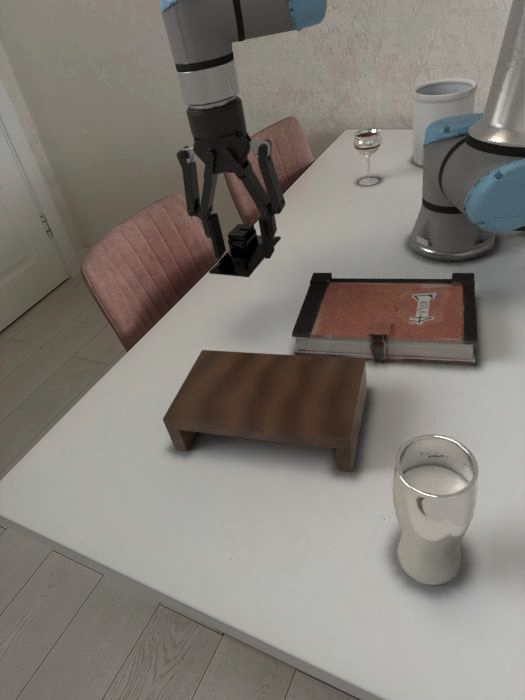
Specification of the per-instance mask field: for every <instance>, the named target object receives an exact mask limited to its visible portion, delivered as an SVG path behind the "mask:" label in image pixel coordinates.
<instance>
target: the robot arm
mask: <svg viewBox="0 0 525 700" xmlns="http://www.w3.org/2000/svg"><path fill="white" fill-rule="evenodd" d="M159 5H160V12H161V15H162V20H163V23H164V27H165V31H166V36H167V39H168V43H169V46H170V51H171V55H172V59H173V63H174V65H175V70H176V74H177V79H178V83H179V88H180V92H181V96H182V97H181V98H182V100H183V104H184V105H187V108H186V111H185V112H186V116H187V120H188V124H189V129H190V133H191V135H192V138H193V145H191V146H188V145H184V146H183V147H182V148H181V149H180V150H179V151H177V153H176V159H177V161H178V163H179V165H180V167H181V171H182V172H181V173H182V180H183V187H184V196H185V203H186V204H185V205H186V212H187V215H188V216H189V217H191V218H192V217H196V218H199V220H201V223H202V227H203V231H204V235H205V236H206V238H207V239H210V240H211V245H212V247H213V252H214V256H215V259H217V260H220V259H221V258H222V257H223V256H224V255H225V253H226V251H227V248H226V244H225V239H224V236H223V232H222V227H221V223H220V219H219V215H218V213H217V212H216V213H215V212H214V208H213V207H214V201H215V194H216V188H217V183H218V176H219V175H220V174H223V173H229V174H234V175H235V177H236V178H237V179H238V180H240V181H241V184H243V186H244V188H245V189H246V192H247V193H248V194H249V196H250V198H251V199H252V201H253V203H254V204H255V206H256V208H257V209H258V211H259V213H260V214H261V215H260V216H259V218H258V219H257V221H258V226H259V231H260V235H261V237H262V243H263V248H264V254H265V258H264V260H265V259H268V260H269V259H271V257H272V256H273V254H274V252H275V246H274V243H273V237H274V236H276V233H277V232H278V231H277V230H278V227H277V221H276V220H277V219H276V215H280V214H281V213H282V211H283V210H284V208H285V206H286V199H285V196H284V193H283V190H282V186H281V183H280V181H279V177H278V173H277V170H276V167H275V163H274V161H273V157H272V147H273V145H272V144H273V143H272V141H271V139H268V138H266V139H264V140H263V141H259V140H253V139H252V138H251V136H250V135H249V133H248V131H247V122H246V117H245V112H244V105H243V100H242V98H240V96H238V94H239V93H240V89H241V88H240V83H239V78H238V73H237V67H236V66H237V65H236V62H235V55H234V51H233V43H238V42H239V43H241V42H245V41H246V40H250V39H251V40H252V39H255V38H256V39H257V38H261V37H267V36H271V35H273V36H274V35H278V34H282V33H288V32H293V31H296V32H301V31H302V30H303V29H306V28H309V27H313V26H317V25H319V24H322V22H323V21H324V19H325V18H326V13H327V7H328V6H327V5H328V0H159ZM507 17H508V18H507V22H506V26H505V30H504V33H503V37H502V40H501V45H500V49H499V53H498V57H497V60H496V64H495V68H494V72H493V76H492V80H491V84H490V88H489V90H488V91H489V92H488V95H487V100H486V103H485V108H484V112H476V113H474V112H473V114H464V115H457V116H452V117H447V118H443V119H440V120H437V121H434V122H432V123H431V124H430V125H428V127H427V128H426V130H425V137H424V143H423V147H424V152H423V166H422V186H421V190H422V191H421V197H422V198H421V207H420V209H419V212H418V214H417V217H416V220H415V222H414V226H413V228H412V230H411V233H410V245H411V249H412V250H413V251H414V252H415V253H416V254H418V255H420V256H422V257H424V258H426V259H430V260H433V261H434V260H435V261H439V262H461V261H462V262H463V261H469V260H473V259H477V258H479V257H482V256H484V255H486V254H488V252H490V251H492V249H493V247H494V246H495V242H496V241H495V240H496V234H502V233H508V232H525V0H512V2H511V7H510V10H509V14H508V16H507ZM250 152H252V153H253V155H254V158H255V159H256V160H257V163H258V168H259V171H260V173H261V177H262V180H263V183H264V186H265V188H264V187H263V185H262V183H261V181H260V180H259V178H258V177H257V175H256V173H255V171H254V169H253V165H252V162H251V161H250V160H249V158H248V155H249V154H250ZM197 158H199V159H200V161H201V162H202V163H203V164H204V170H203V185H202V191H201V192H202V193H201V195H200V187H199V179H198V168H197V167H198V166H197V162H196V161H197ZM265 189H266V190H265ZM212 212H213V213H212Z"/></svg>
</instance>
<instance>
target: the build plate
mask: <svg viewBox="0 0 525 700" xmlns="http://www.w3.org/2000/svg"><path fill="white" fill-rule="evenodd" d="M257 233H258V232H257V229H256V228H255V224H251V223H250V224H249V223H237V224H236V225H235V226H234V227H233V228H232V229H231V230H230V231H229V232H228V233H227V238H228V240H227V243H228V247H229V250H227V252H225V253H224V254H223V255H222V257H221V258H220V259H218V261H217V262H216V263H215V264H214V265H213V266H212V267H211V268H210V269H209V271H208V274H210V275H217V276H218V275H219V276H229V277H239V278H240V277H241V278H249V277H251V275H252V274H253V273H254V271H255V270H256V269H257V268H258V267H259V266H260V264H261V263H262V262H263V261H264V260H265V254H264V248H263V243H262V237H261V234H259V235H258V234H257ZM281 239H282V238H281V236H277V235H274V237H273V243H274V247H275V246H276V245H277V244H278V243H279V242H280V240H281Z"/></svg>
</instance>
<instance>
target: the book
mask: <svg viewBox="0 0 525 700" xmlns="http://www.w3.org/2000/svg"><path fill="white" fill-rule="evenodd" d="M475 286H476V277H475V272H452V274H451V278H364V277H363V278H358V277H357V278H355V277H353V278H347V277H344V278H340V277H336V278H335V277H334V278H333V273H332V272H313V273H312V275H311V278H310V281H309V286H308V289H307V291H306V293H305V296H304V299H303V301H302V305H301V307H300V310H299V313H298V315H297V318H296V320H295V324H294V326H293V329H292V332H291V337H292V338H295V341H296V348H295V350H294V355H298V356H315V357H332V358H349V359H365V361H373V362H374V363H377V364H384V362H397V363H415V364H416V363H417V364H430V365H431V364H432V365H433V364H434V365H452V366H470V367H475V366H476V353H475V352H476V350H475V349H476V348H475V346H478V344H479V335H478V333H479V332H478V317H477V303H476V302H477V301H476V287H475Z"/></svg>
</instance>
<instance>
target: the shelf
mask: <svg viewBox="0 0 525 700" xmlns="http://www.w3.org/2000/svg"><path fill="white" fill-rule="evenodd" d="M366 362H367V360H365V359H349V358H332V357H315V356H298V355H295V354H279V353H278V354H277V353H263V352H262V353H261V352H247V351H246V352H245V351H227V350H211V349H202V350H201V351H200V353H199V355H198V356H197V358H196V359H195V362H194V363H193V365H192V367H191V369H190V371H189V372H188V374H187V375H186V377H185V379H184V381H183V383H182V385H181V386H180V387H179V389H178V392H177V393H176V394H175V397H174V398H173V400H172V402H171V404H170V405H169V407H168V409H167V411H166V413H165V414H164V416H163V418H162V422H163V424H164V427H165V428H166V431H167V434H168V436H169V437H170V440H171V442H172V444H173V447H174V449H175V450H179V451H188V450H189V448H190V446H191V443H192V441H193V439H194V437H195V435H196V433H202V434H210V435H211V434H212V435H217V436H218V435H219V436H226V437H227V436H229V437H235V438H237V437H238V438H244V439H245V438H246V439H252V440H253V439H254V440H262V441H270V442H279V443H288V444H294V445H295V444H296V445H304V446H305V445H306V446H313V447H323V448H330V449H335V458H336V467H337V471H340V472H346V473H347V472H348V473H353V471H354V465H355V461H356V454H357V449H358V443H359V437H360V432H361V427H362V422H363V415H364V410H365V405H366V399H367V393H368V385H367V382H368V381H367V363H366Z"/></svg>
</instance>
